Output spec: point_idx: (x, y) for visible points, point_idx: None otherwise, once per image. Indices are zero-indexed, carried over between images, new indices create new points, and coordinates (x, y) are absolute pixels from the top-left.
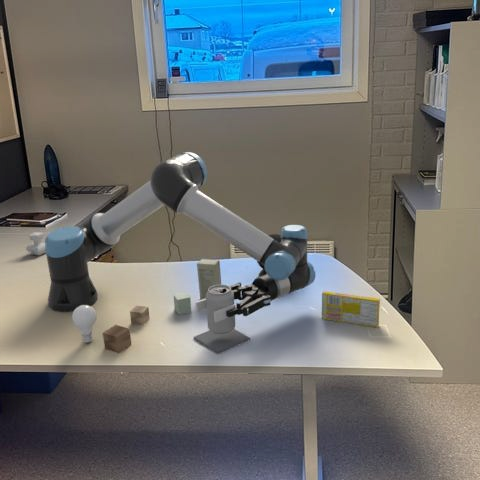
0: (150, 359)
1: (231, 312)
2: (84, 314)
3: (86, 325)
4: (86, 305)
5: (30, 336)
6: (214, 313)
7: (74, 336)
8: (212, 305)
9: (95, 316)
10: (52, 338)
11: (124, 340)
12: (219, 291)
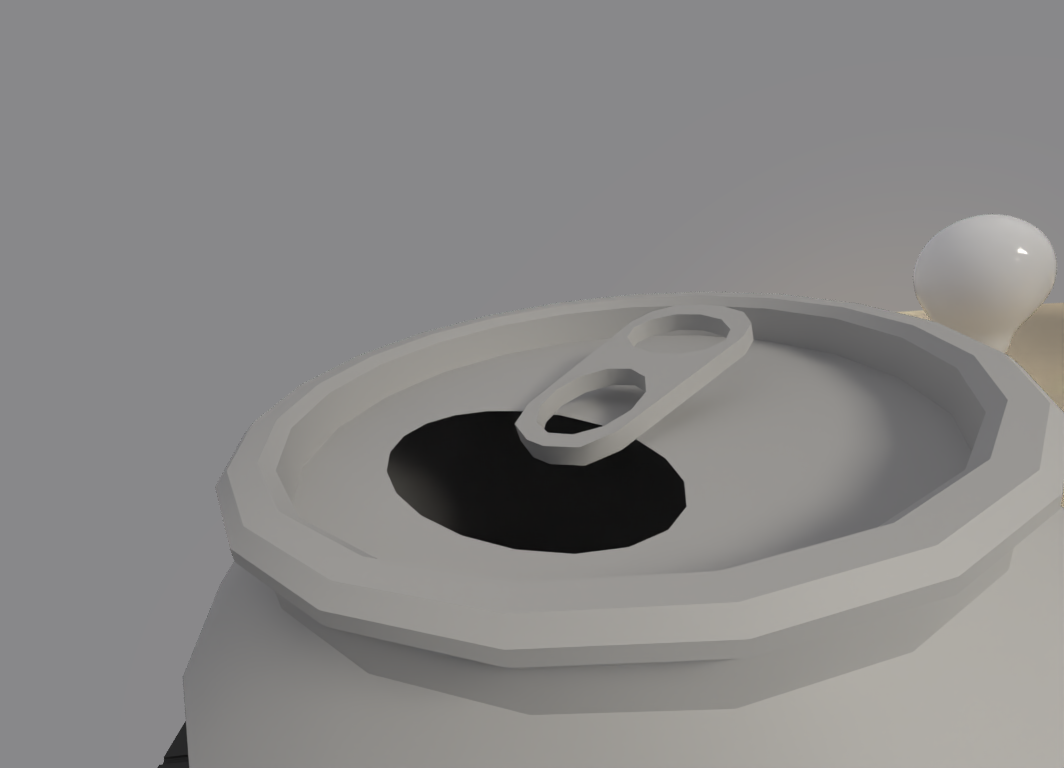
0: None
1: (180, 761)
2: (930, 244)
3: (918, 300)
4: (1002, 220)
5: (1060, 327)
6: None
7: (1044, 384)
8: (507, 498)
9: (966, 284)
10: (1031, 353)
11: None
12: (560, 413)
